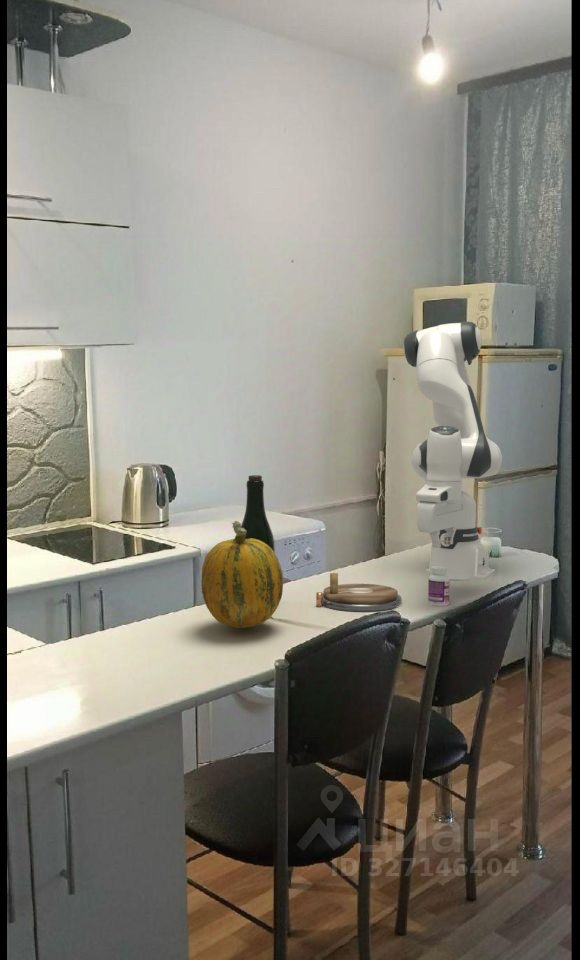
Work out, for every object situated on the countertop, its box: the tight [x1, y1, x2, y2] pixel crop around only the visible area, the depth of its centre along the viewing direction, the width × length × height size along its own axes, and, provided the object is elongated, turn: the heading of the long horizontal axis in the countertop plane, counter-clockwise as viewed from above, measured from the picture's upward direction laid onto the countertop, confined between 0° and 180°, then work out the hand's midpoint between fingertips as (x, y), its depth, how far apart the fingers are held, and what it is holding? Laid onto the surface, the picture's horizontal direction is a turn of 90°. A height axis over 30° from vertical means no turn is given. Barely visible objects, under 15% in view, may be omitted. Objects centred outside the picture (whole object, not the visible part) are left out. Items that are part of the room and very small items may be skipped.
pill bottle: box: [427, 566, 451, 607], centre depth 235 cm, size 5×5×10 cm
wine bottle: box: [241, 474, 276, 554], centre depth 235 cm, size 10×10×33 cm
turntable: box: [322, 572, 399, 605], centre depth 238 cm, size 19×19×6 cm
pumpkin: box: [200, 520, 284, 629], centre depth 214 cm, size 19×19×25 cm
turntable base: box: [315, 591, 403, 613], centre depth 238 cm, size 21×21×4 cm
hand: (442, 546), depth 234 cm, fingers open, 5 cm apart
